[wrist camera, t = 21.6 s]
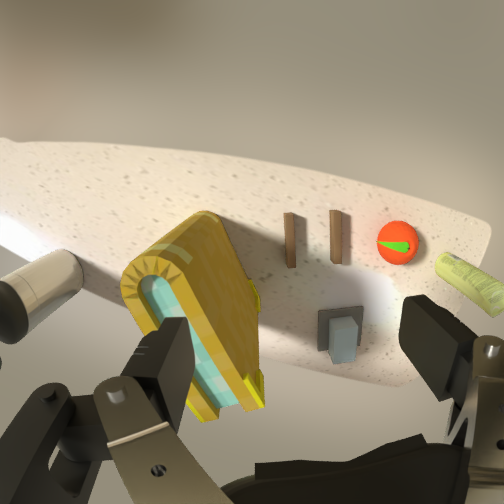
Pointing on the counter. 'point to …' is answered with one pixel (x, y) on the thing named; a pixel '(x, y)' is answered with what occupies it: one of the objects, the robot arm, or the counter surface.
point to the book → (202, 310)
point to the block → (342, 339)
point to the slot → (334, 238)
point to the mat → (335, 313)
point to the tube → (472, 283)
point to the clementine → (397, 242)
